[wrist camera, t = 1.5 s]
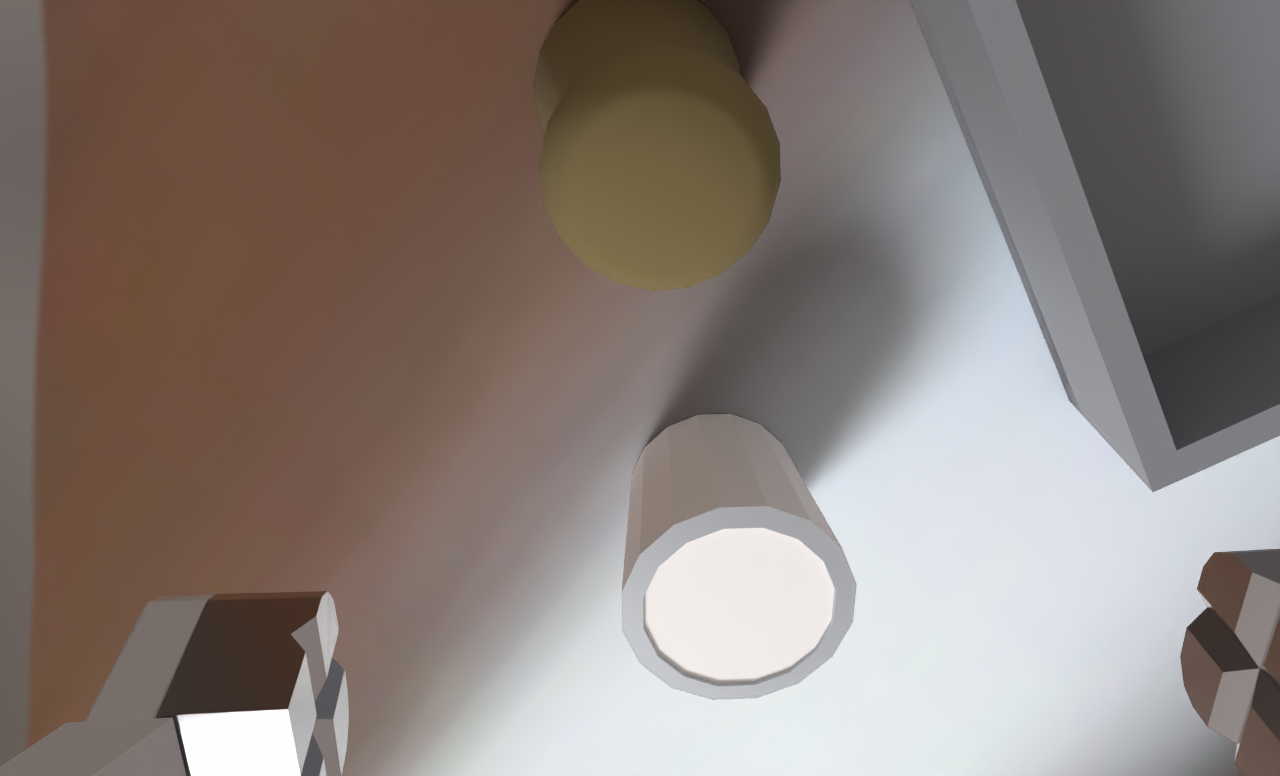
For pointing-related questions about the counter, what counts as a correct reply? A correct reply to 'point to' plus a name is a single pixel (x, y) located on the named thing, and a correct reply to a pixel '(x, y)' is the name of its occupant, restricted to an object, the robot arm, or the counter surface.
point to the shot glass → (729, 563)
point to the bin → (1135, 205)
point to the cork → (652, 142)
